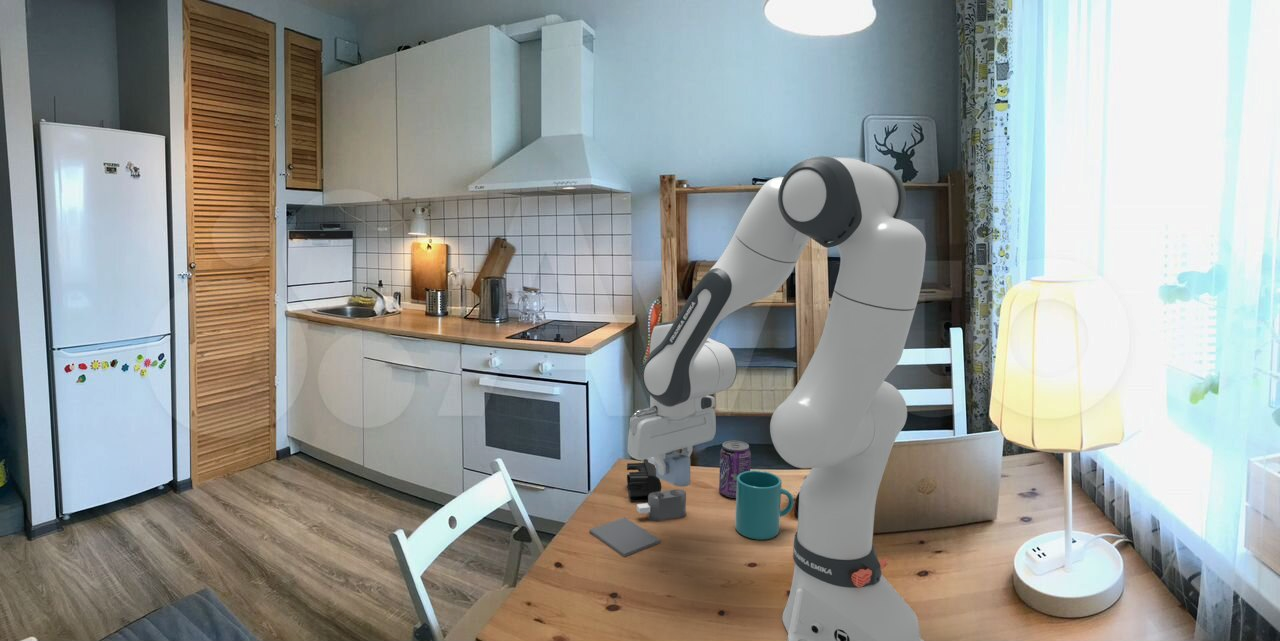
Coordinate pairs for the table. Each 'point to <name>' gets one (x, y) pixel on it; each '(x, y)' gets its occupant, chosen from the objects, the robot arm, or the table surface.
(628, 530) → the pad
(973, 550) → the table surface
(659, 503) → the dark gray connector
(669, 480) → the blue connector
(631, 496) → the end cap
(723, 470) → the beverage can
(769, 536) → the cup
